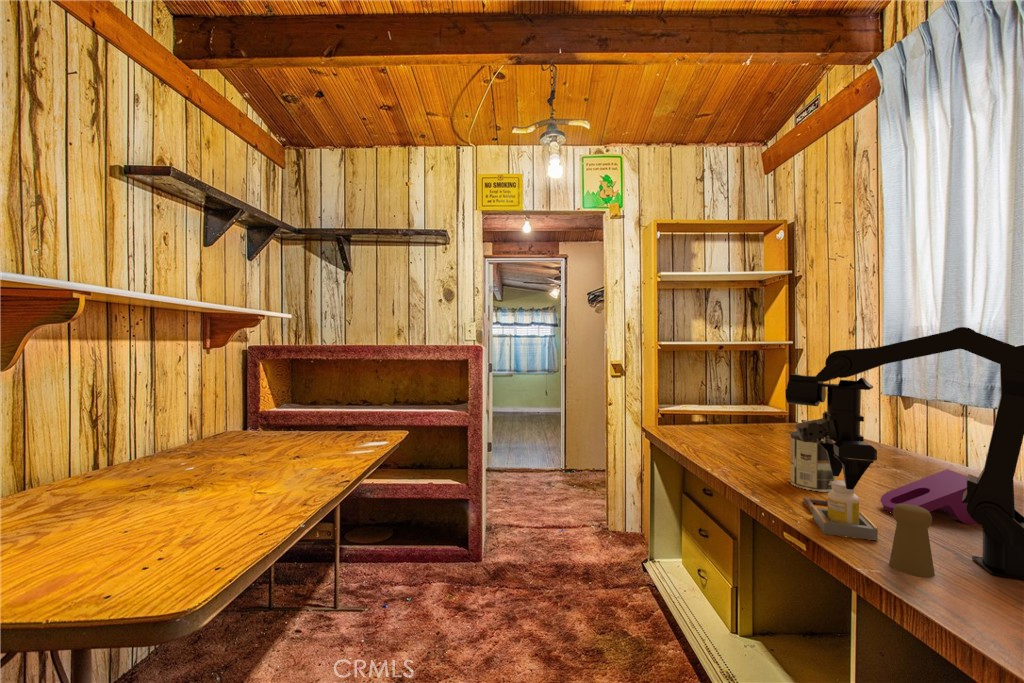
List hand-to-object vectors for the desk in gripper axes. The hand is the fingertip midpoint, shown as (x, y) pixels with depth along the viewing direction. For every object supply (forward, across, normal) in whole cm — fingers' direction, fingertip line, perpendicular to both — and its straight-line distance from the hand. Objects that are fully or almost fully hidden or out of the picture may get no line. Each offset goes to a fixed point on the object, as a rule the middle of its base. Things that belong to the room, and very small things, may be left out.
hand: (842, 482), depth 95 cm
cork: (+10, +15, +6) cm, 19 cm away
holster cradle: (+10, -11, 0) cm, 15 cm away
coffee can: (+10, -30, +1) cm, 32 cm away
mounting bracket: (+10, -17, +21) cm, 29 cm away
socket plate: (+10, 0, 0) cm, 10 cm away
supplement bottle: (+10, 0, 0) cm, 10 cm away
